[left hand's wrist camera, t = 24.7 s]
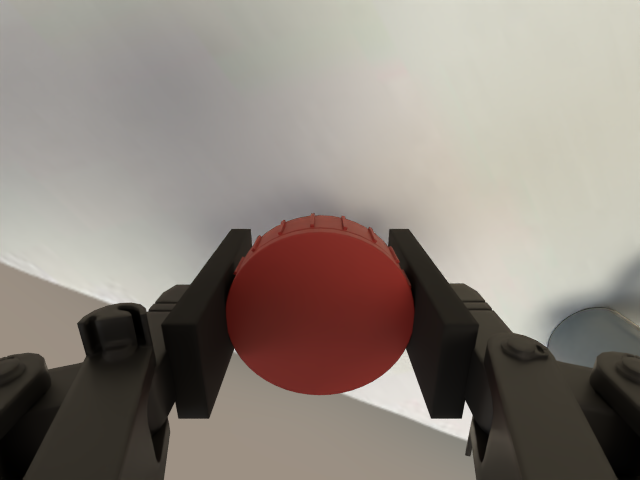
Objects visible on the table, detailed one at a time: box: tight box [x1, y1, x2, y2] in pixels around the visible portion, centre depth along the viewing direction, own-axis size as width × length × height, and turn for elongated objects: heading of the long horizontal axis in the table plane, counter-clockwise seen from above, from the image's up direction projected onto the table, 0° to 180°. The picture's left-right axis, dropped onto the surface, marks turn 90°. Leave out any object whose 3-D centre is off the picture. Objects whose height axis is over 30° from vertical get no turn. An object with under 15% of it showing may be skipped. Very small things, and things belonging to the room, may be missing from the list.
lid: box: [226, 213, 415, 395], centre depth 11 cm, size 6×6×2 cm
